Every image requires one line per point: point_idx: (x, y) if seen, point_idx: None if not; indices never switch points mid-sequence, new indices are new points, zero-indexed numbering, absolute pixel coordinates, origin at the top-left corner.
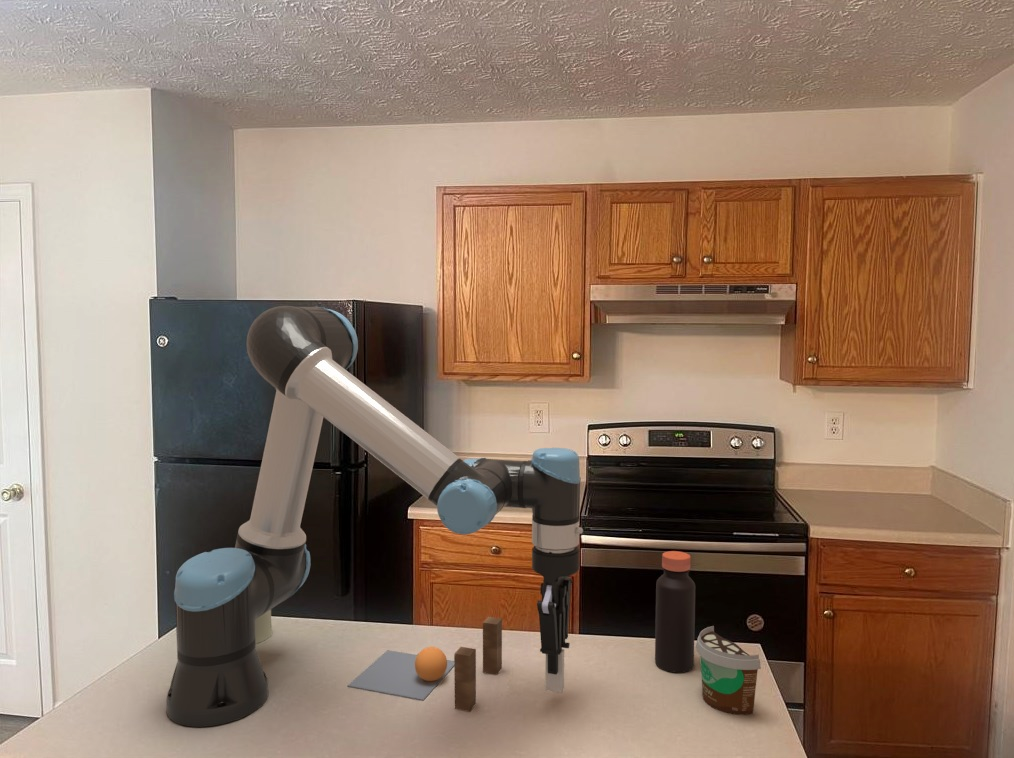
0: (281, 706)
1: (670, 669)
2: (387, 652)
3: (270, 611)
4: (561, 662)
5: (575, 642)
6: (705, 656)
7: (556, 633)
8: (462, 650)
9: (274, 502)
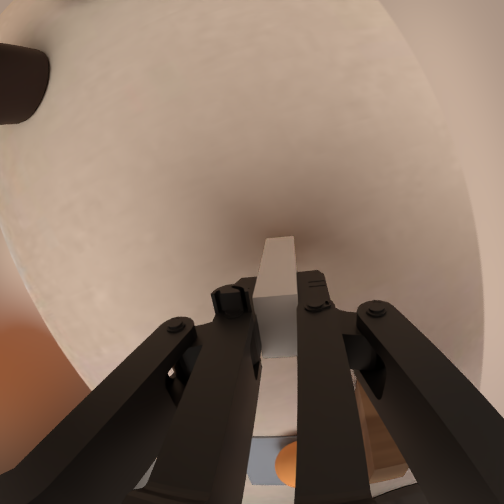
0: (401, 481)
1: (45, 71)
2: (258, 483)
3: None
4: (295, 276)
5: (46, 290)
6: None
7: (437, 381)
8: (385, 476)
9: None
